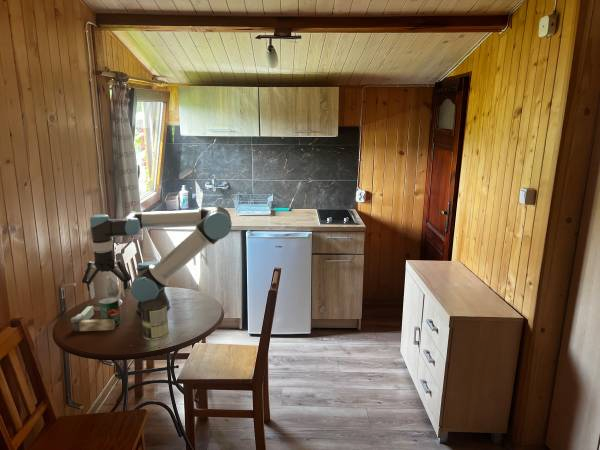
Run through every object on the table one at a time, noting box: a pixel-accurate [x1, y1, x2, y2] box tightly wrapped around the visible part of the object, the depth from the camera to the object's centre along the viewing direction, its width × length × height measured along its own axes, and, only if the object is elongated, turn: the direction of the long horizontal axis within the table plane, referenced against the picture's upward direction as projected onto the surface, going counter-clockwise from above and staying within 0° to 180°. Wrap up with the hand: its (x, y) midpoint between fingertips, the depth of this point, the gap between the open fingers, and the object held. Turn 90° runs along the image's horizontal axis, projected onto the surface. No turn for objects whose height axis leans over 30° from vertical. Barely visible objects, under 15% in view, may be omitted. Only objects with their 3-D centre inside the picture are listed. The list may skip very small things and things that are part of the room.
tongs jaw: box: [70, 305, 95, 324], centre depth 193 cm, size 18×4×5 cm, turn 4°
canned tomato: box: [98, 296, 122, 326], centre depth 193 cm, size 8×8×11 cm
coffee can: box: [140, 299, 169, 341], centre depth 182 cm, size 10×10×14 cm
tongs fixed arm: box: [71, 318, 116, 332], centre depth 188 cm, size 17×3×4 cm, turn 94°
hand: (109, 296), depth 192 cm, fingers open, 13 cm apart
